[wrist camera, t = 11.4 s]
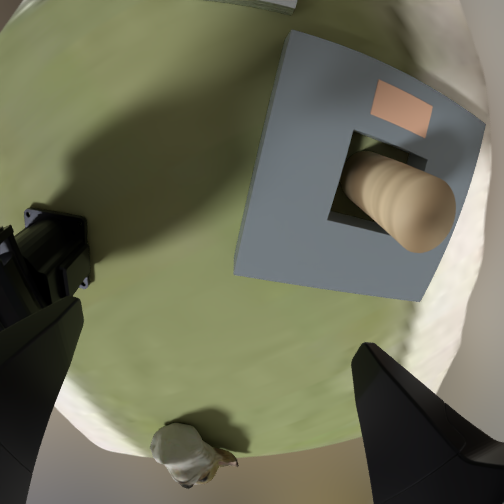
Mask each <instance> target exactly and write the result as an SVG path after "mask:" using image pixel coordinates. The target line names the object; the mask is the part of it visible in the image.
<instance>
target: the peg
mask: <svg viewBox="0 0 504 504" xmlns="http://www.w3.org/2000/svg"><path fill="white" fill-rule="evenodd" d="M340 180H341V186H342V189H343V192H344V193H345V195H346V196H347V197H348V198H349V199H350V200H351V201H352V202H354V203H355V204H356V205H357V206H358V207H359V208H361V209H362V210H363V211H364V212H365V213H366V214H368V215H369V216H370V217H371V218H372V219H373V220H374V221H376V222H377V223H378V224H379V225H380V226H381V227H382V228H383V229H384V230H385V231H387V232H388V233H389V234H390V235H391V236H392V237H393V238H394V239H395V240H396V241H397V242H398V243H399V244H401V245H402V246H403V247H404V248H405V249H406V250H408V251H410V252H413V253H424V252H427V251H430V250H432V249H434V248H435V247H437V246H438V245H439V244H440V243H441V242H442V241H443V240H444V239H445V238H446V237H447V235H448V234H449V232H450V230H451V228H452V226H453V223H454V219H455V214H456V201H455V197H454V193H453V191H452V189H451V188H450V186H449V185H448V184H447V183H446V182H445V181H444V180H442V179H440V178H438V177H436V176H433V175H431V174H429V173H426V172H424V171H422V170H419V169H417V168H414V167H412V166H409V165H407V164H404V163H402V162H399V161H396V160H394V159H391V158H388V157H386V156H383V155H380V154H377V153H374V152H371V151H361V152H358V153H355V154H354V155H352V156H351V157H350V158H349V159H348V160H347V161H346V162H345V164H344V166H343V169H342V173H341V177H340Z"/></svg>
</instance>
